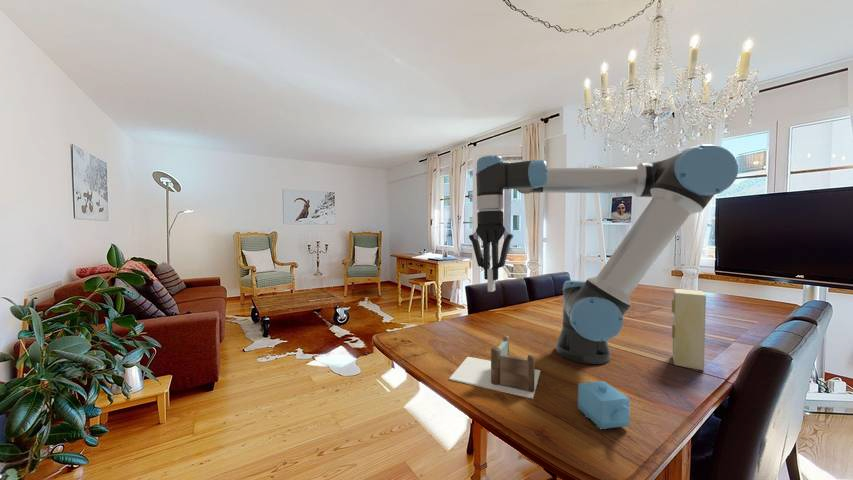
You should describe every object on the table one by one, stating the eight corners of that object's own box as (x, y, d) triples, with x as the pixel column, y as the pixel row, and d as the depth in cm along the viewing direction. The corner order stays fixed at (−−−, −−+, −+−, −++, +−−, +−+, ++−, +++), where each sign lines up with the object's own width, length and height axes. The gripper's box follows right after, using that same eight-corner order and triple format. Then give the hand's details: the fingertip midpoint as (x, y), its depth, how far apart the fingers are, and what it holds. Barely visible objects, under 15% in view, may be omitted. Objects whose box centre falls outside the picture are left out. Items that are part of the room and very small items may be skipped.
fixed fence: (535, 388, 77) (535, 354, 76) (533, 393, 75) (534, 358, 74) (492, 379, 81) (492, 347, 81) (489, 383, 79) (489, 350, 79)
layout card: (540, 371, 86) (540, 369, 86) (533, 398, 73) (533, 396, 73) (467, 357, 96) (467, 356, 96) (449, 379, 82) (449, 377, 82)
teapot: (643, 441, 59) (644, 402, 58) (614, 445, 58) (615, 406, 57) (597, 405, 70) (598, 372, 70) (573, 408, 69) (573, 375, 69)
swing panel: (500, 378, 81) (500, 348, 81) (494, 377, 82) (494, 347, 81) (509, 363, 90) (509, 335, 90) (503, 362, 91) (503, 335, 90)
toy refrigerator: (669, 355, 97) (671, 287, 96) (700, 360, 93) (702, 290, 92) (670, 364, 90) (672, 292, 89) (704, 371, 86) (706, 295, 85)
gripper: (515, 210, 92) (516, 289, 93) (473, 212, 98) (474, 286, 99) (509, 209, 85) (510, 295, 86) (464, 211, 91) (466, 291, 92)
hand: (491, 290), depth 93 cm, fingers closed
